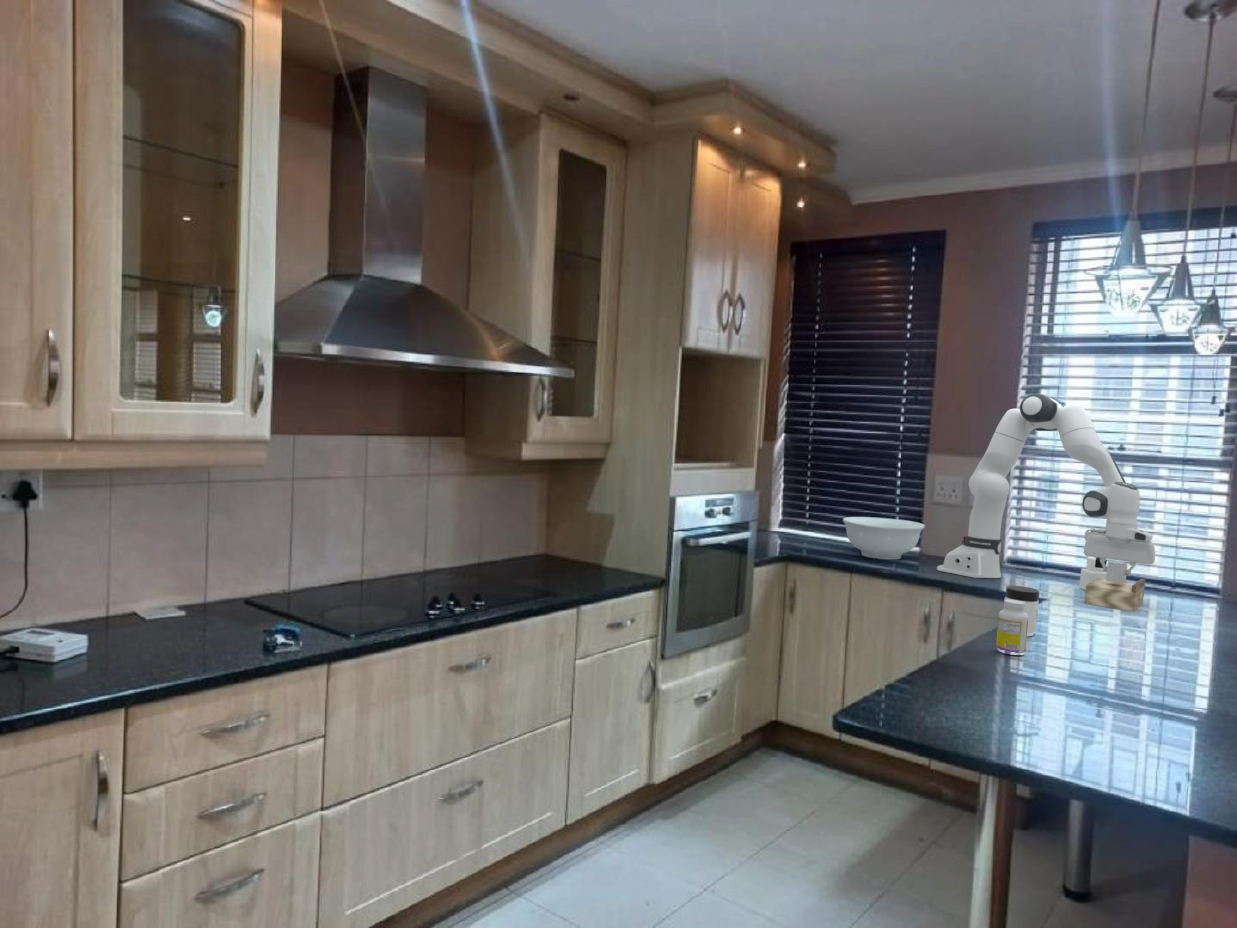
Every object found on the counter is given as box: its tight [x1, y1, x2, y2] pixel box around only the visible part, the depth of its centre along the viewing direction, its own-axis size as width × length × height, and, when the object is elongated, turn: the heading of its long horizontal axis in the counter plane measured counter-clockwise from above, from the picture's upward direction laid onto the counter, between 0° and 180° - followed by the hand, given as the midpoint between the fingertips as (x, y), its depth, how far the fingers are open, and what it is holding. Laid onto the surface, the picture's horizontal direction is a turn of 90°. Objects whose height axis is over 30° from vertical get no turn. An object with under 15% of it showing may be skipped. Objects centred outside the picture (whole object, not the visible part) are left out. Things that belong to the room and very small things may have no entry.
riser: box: [1083, 578, 1146, 613], centre depth 281 cm, size 14×20×8 cm
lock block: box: [1106, 560, 1129, 583], centre depth 281 cm, size 5×5×6 cm
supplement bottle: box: [995, 599, 1028, 653], centre depth 209 cm, size 7×7×13 cm
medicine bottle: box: [1079, 556, 1108, 592], centre depth 301 cm, size 7×7×12 cm
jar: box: [1003, 585, 1040, 633], centre depth 231 cm, size 9×8×12 cm
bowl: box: [842, 516, 926, 561], centre depth 350 cm, size 32×32×15 cm
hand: (1116, 573), depth 281 cm, fingers closed on lock block, 5 cm apart
